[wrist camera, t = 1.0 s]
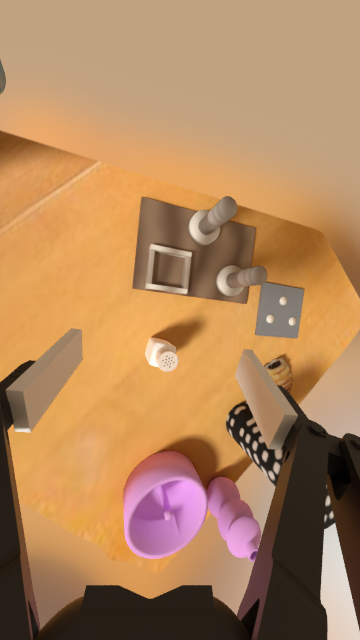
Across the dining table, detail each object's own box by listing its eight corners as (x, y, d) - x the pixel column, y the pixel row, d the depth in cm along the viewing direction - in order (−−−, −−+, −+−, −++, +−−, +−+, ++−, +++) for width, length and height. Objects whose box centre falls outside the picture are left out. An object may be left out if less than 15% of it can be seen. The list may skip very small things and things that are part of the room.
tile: (255, 334, 46) (257, 335, 45) (261, 282, 45) (264, 281, 44) (295, 338, 49) (298, 338, 49) (302, 289, 49) (305, 289, 48)
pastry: (290, 385, 50) (303, 392, 47) (270, 400, 49) (282, 408, 45) (278, 354, 49) (291, 358, 45) (257, 368, 47) (268, 374, 43)
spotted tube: (232, 399, 45) (316, 468, 26) (261, 406, 48) (356, 473, 29) (221, 435, 45) (297, 530, 26) (250, 439, 48) (339, 529, 29)
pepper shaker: (168, 340, 40) (184, 351, 31) (163, 360, 40) (177, 376, 31) (149, 336, 38) (159, 345, 29) (143, 356, 38) (152, 372, 29)
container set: (113, 522, 39) (112, 625, 27) (136, 447, 40) (145, 514, 27) (221, 518, 47) (259, 596, 34) (239, 455, 47) (284, 510, 35)
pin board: (132, 288, 37) (138, 282, 27) (141, 199, 36) (150, 159, 26) (243, 303, 44) (280, 303, 34) (252, 230, 43) (293, 207, 33)
